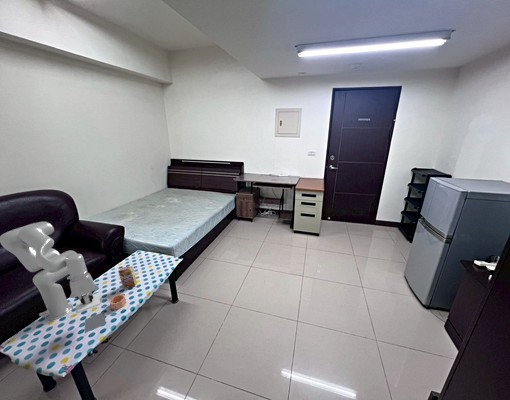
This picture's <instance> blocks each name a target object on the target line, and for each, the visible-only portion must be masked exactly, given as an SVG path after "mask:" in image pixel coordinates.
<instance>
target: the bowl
mask: <svg viewBox="0 0 510 400" xmlns="http://www.w3.org/2000/svg"><path fill="white" fill-rule="evenodd" d="M108 302H109V305H110V308H111V310H112V311H113V310H114V311H115V310H119V309H121V308H123V307H125V305H126V303H127V300H126V296H125V294H120V293H119V294H116V295H114V296H112V298H110V299H109V301H108Z"/></svg>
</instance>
